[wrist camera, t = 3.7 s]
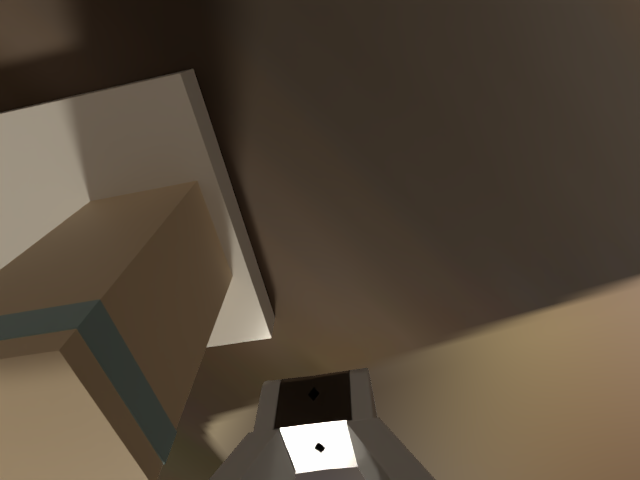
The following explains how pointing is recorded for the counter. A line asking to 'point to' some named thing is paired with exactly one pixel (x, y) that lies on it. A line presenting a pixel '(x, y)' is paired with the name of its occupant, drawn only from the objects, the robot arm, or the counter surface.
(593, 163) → the counter surface
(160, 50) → the counter surface
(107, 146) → the white tray
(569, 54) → the counter surface
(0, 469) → the carton
